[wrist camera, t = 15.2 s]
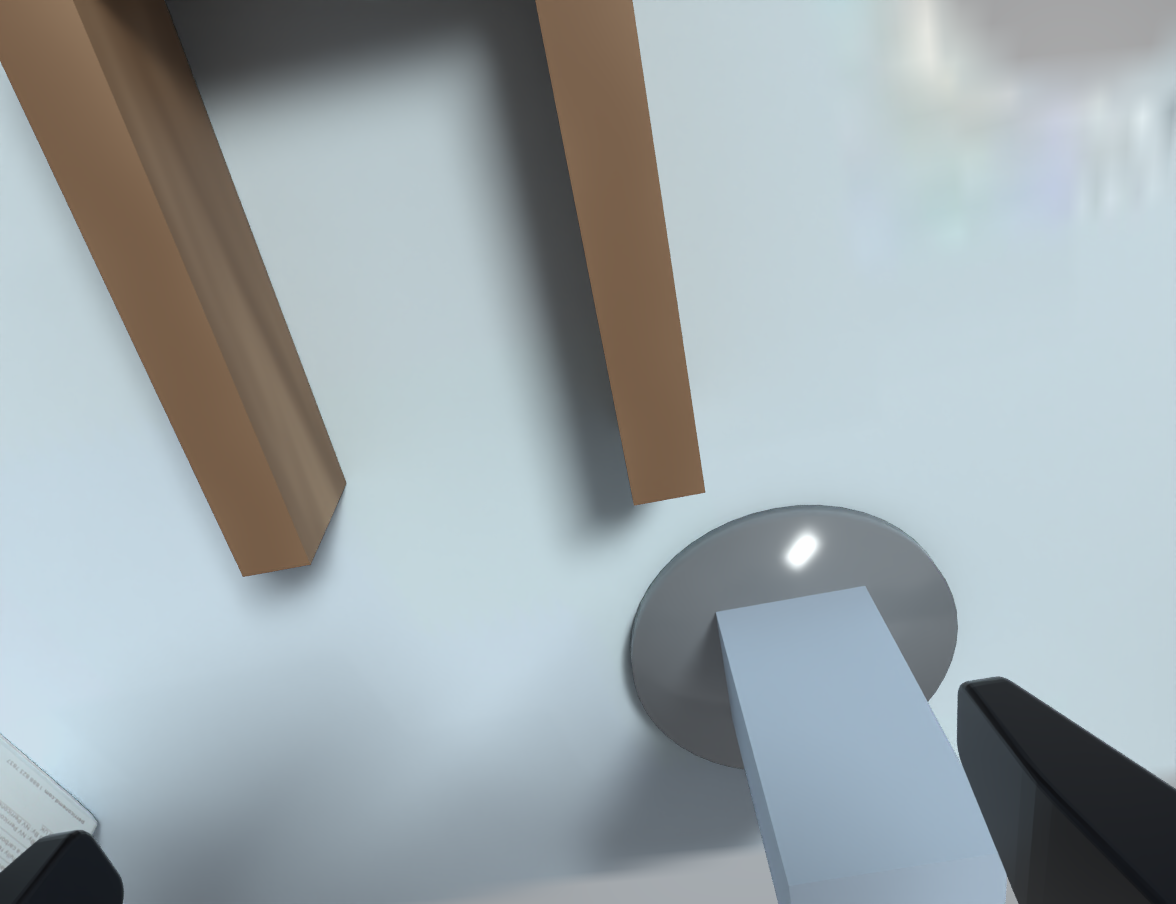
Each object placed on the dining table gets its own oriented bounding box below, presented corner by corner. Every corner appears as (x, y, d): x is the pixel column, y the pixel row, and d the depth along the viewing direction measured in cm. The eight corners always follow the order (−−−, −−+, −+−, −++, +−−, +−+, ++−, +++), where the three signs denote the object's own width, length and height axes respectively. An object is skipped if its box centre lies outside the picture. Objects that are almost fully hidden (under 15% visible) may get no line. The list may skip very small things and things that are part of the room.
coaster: (950, 476, 22) (960, 488, 21) (947, 729, 26) (956, 744, 25) (604, 539, 22) (605, 552, 22) (656, 776, 26) (658, 792, 26)
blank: (865, 586, 22) (1008, 851, 15) (870, 696, 24) (1000, 979, 17) (715, 611, 23) (788, 885, 16) (732, 719, 25) (804, 1008, 17)
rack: (579, -245, 15) (585, -312, 12) (682, 420, 21) (705, 492, 18) (34, -116, 15) (-99, -148, 12) (288, 493, 21) (243, 576, 18)
